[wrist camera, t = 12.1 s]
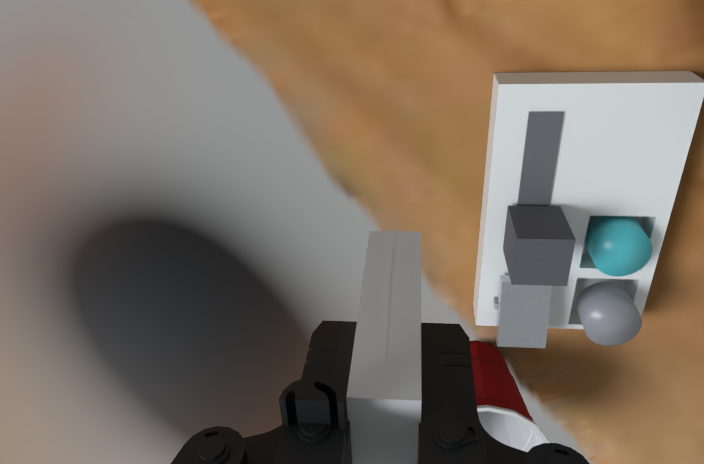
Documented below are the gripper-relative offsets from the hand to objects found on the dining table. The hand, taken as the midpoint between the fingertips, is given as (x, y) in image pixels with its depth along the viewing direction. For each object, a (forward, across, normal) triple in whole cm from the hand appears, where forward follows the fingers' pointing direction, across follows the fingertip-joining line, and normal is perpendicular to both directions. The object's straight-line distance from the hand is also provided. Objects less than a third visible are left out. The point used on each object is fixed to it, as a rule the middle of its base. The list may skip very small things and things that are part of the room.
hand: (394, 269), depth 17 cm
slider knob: (+26, +10, -13) cm, 31 cm away
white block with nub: (+25, +10, -21) cm, 34 cm away
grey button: (+26, +17, -21) cm, 38 cm away
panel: (+29, +13, -13) cm, 35 cm away
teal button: (+28, +17, -15) cm, 36 cm away
